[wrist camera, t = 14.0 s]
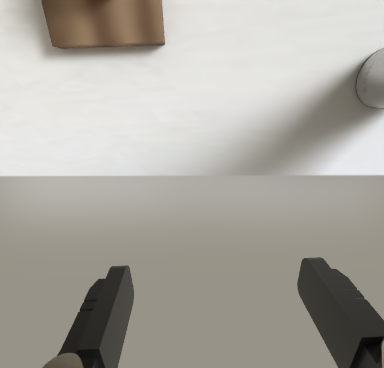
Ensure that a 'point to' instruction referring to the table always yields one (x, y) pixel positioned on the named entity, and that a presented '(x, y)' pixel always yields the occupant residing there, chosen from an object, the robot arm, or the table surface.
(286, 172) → the table surface
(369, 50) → the table surface
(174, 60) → the table surface
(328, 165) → the table surface
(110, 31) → the walnut base
